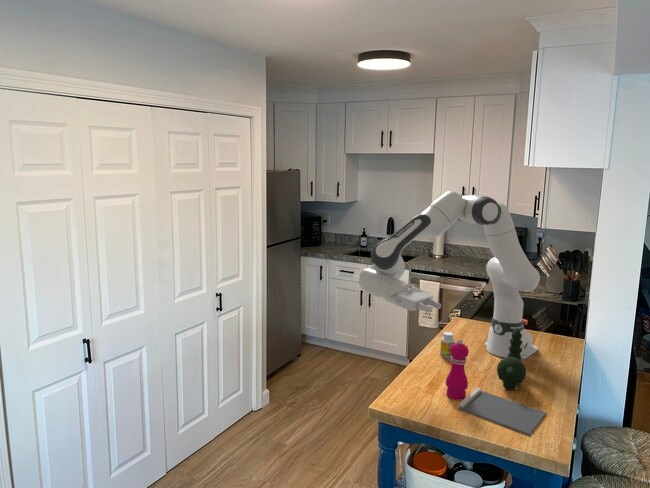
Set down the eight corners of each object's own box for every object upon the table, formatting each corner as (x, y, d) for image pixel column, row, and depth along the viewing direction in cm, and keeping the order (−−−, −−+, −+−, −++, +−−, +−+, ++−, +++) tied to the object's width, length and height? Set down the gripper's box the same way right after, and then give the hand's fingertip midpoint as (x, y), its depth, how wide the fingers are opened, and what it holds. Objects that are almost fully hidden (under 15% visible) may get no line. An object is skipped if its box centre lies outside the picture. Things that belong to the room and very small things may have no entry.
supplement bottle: (446, 352, 197) (447, 330, 195) (456, 356, 192) (458, 334, 190) (437, 354, 194) (438, 332, 192) (447, 359, 189) (448, 336, 187)
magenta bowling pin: (470, 395, 161) (475, 339, 157) (460, 403, 156) (465, 345, 152) (451, 388, 166) (455, 333, 162) (440, 395, 160) (444, 339, 157)
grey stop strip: (459, 408, 152) (459, 402, 152) (477, 392, 163) (477, 387, 163) (462, 409, 152) (463, 404, 151) (480, 393, 162) (480, 388, 162)
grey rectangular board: (458, 409, 152) (458, 407, 152) (478, 391, 164) (478, 389, 164) (529, 435, 138) (529, 434, 138) (545, 414, 150) (546, 412, 150)
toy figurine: (499, 371, 184) (493, 393, 161) (504, 323, 182) (498, 339, 159) (526, 376, 180) (523, 399, 157) (531, 327, 178) (528, 344, 155)
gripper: (391, 287, 160) (428, 303, 154) (412, 283, 178) (447, 296, 171) (385, 305, 161) (422, 321, 155) (407, 298, 179) (441, 313, 172)
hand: (435, 308), depth 163 cm, fingers open, 8 cm apart
